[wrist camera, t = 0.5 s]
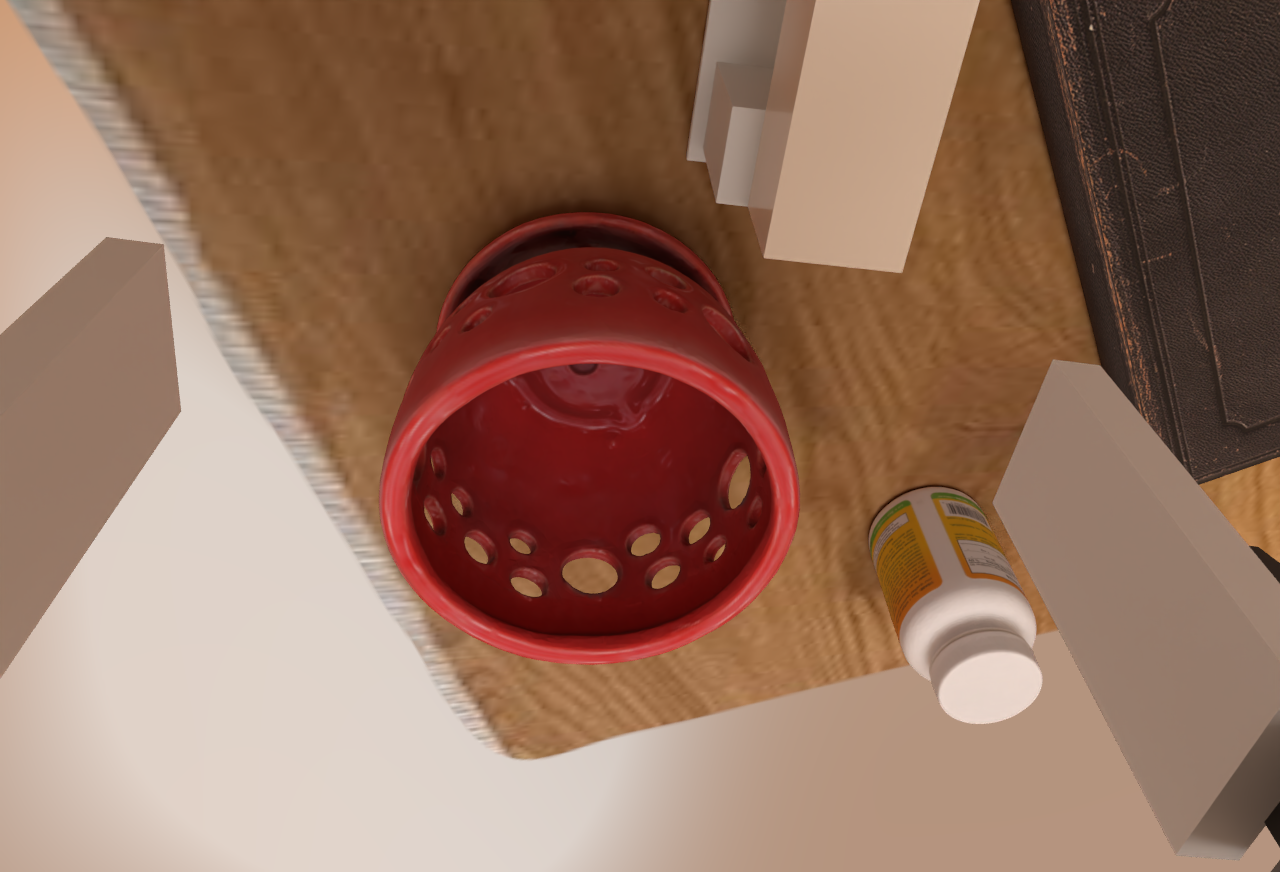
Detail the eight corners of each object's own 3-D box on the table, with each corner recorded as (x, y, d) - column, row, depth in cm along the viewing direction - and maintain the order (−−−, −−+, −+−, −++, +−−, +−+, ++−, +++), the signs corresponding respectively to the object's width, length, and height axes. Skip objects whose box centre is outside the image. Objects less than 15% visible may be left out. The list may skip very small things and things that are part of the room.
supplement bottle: (877, 586, 49) (930, 750, 41) (856, 500, 46) (908, 658, 38) (991, 558, 48) (1068, 720, 40) (976, 469, 45) (1056, 624, 37)
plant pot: (394, 419, 43) (328, 617, 33) (491, 130, 37) (445, 268, 27) (678, 510, 46) (696, 717, 36) (815, 258, 40) (883, 425, 29)
